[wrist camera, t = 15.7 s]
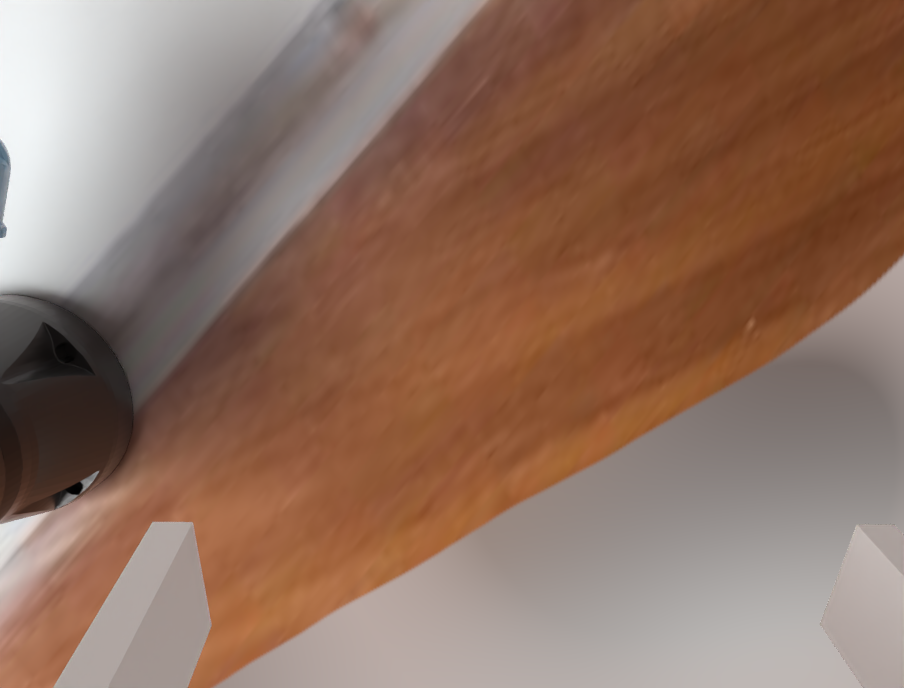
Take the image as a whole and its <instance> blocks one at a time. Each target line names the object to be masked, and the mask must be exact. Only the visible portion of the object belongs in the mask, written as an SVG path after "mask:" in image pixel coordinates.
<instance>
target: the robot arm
mask: <svg viewBox="0 0 904 688" xmlns="http://www.w3.org/2000/svg"><path fill="white" fill-rule="evenodd" d="M10 170H11V165H10V158H9V154H8V151H7V149H6V147H5V145H4V143H3V142H2V140H1V139H0V238H3V237H5V236H6V231H7V228H6V226H5V225H4V223H3V216H4V210H5V203H6V197H7V190H8V184H9V178H10ZM132 424H133V406H132V399H131V394H130V389H129V386H128V382H127V380H126V377H125V374H124V372H123V370H122V368H121V366H120V364H119V362H118V360H117V358H116V357H115V355H114V354H113V352H112V351H111V349H110V348H109V347H108V345H107V344H106V343H105V342H104V340H103V339H102V338H101V337H100V336H99V335H98V334H97V333H96V332H95V331H94V330H93V329H92V328H91V327H90V326H89V325H87V324H86V323H85V322H84V321H82V320H81V319H79V318H78V317H77V316H75V315H74V314H72V313H70V312H69V311H67V310H65V309H63V308H61V307H59V306H57V305H55V304H52V303H49V302H47V301H44V300H40V299H37V298H32V297H28V296H20V295H0V524H3V523H6V522H10V521H14V520H18V519H22V518H26V517H29V516H33V515H37V514H41V513H45V512H49V511H52V510H55V509H58V508H61V507H63V506H66V505H68V504H70V503H72V502H74V501H76V500H77V499H79V498H81V497H82V496H83V495H85V494H86V493H88V492H89V491H90V490H92V489H93V488H94V487H96V486H97V485H98V484H100V483H101V482H102V481H103V480H105V479H106V478H107V477H108V476H109V475H110V474H111V473H112V472H113V470H114V469H115V468H116V467H117V465H118V464H119V462H120V461H121V459H122V457H123V455H124V453H125V451H126V449H127V446H128V443H129V440H130V436H131V431H132ZM820 625H821V626H822V628H823V629H824V631H825V632H826V634H827V635H828V637H829V638H830V640H831V641H832V643H833V644H834V646H835V647H836V649H837V650H838V652H839V653H840V654H841V656H842V657H843V659H844V660H845V662H846V663H847V665H848V666H849V668H850V669H851V671H852V672H853V674H854V675H855V677H856V678H857V679H858V681H859V683H860V684H861V686H862V687H863V688H904V534H903V533H902V532H901V531H900V530H899V529H898V528H897V527H896V526H895V525H887V524H885V525H882V524H880V525H879V524H878V525H876V524H866V525H865V524H857V525H856V528H855V531H854V533H853V536H852V539H851V542H850V544H849V547H848V550H847V552H846V555H845V558H844V560H843V564H842V566H841V569H840V571H839V574H838V577H837V579H836V582H835V585H834V587H833V590H832V593H831V596H830V598H829V601H828V604H827V606H826V609H825V612H824V614H823V617H822V620H821V623H820ZM211 626H212V625H211V619H210V614H209V608H208V603H207V597H206V592H205V586H204V581H203V575H202V570H201V564H200V559H199V553H198V548H197V542H196V537H195V531H194V526H193V522H152V524H151V525H150V527H149V529H148V530H147V532H146V534H145V535H144V537H143V539H142V540H141V542H140V544H139V545H138V547H137V549H136V550H135V552H134V554H133V555H132V557H131V559H130V560H129V562H128V564H127V565H126V567H125V569H124V570H123V572H122V574H121V575H120V577H119V579H118V580H117V582H116V584H115V585H114V587H113V589H112V590H111V592H110V594H109V595H108V597H107V599H106V600H105V602H104V604H103V605H102V607H101V609H100V610H99V612H98V614H97V615H96V617H95V619H94V620H93V622H92V624H91V625H90V627H89V629H88V630H87V632H86V634H85V635H84V637H83V639H82V640H81V642H80V644H79V645H78V647H77V649H76V650H75V652H74V654H73V655H72V657H71V659H70V660H69V662H68V664H67V665H66V667H65V669H64V670H63V672H62V674H61V675H60V677H59V679H58V680H57V682H56V684H55V685H54V687H53V688H188V685H189V682H190V680H191V677H192V675H193V672H194V670H195V667H196V664H197V662H198V659H199V657H200V654H201V651H202V649H203V646H204V644H205V641H206V639H207V636H208V633H209V631H210V628H211Z"/></svg>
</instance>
